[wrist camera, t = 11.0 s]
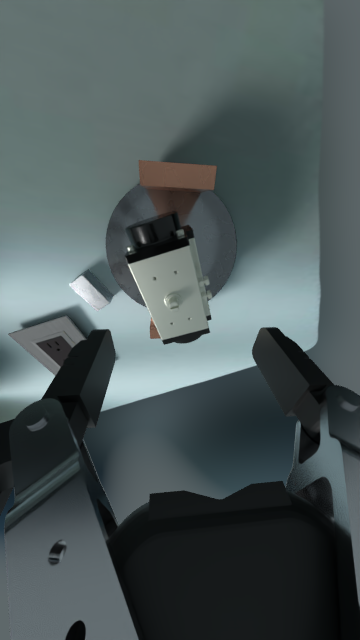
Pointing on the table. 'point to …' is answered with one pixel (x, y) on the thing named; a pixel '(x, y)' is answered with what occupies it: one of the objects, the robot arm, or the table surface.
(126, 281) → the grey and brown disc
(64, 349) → the electrical outlet
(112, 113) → the table surface
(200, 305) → the pneumatic valve
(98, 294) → the grey rectangular block
